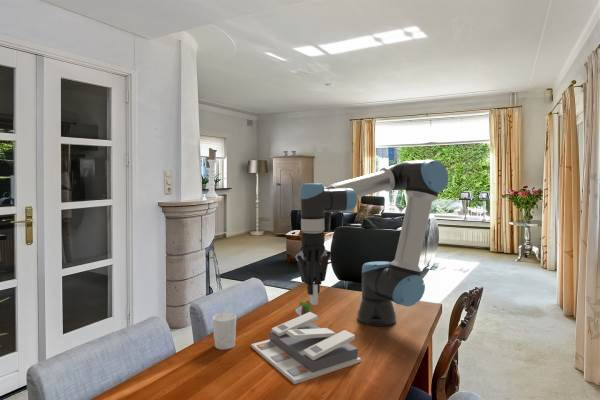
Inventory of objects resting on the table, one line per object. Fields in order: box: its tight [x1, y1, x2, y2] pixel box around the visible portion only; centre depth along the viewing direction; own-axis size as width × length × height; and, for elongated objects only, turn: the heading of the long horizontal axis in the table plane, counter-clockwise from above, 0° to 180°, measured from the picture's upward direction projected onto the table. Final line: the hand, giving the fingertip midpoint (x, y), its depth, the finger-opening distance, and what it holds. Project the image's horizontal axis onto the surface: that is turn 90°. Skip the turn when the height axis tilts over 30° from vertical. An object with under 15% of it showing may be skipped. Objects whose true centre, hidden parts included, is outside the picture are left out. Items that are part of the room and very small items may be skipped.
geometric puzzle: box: [294, 301, 315, 317], centre depth 157 cm, size 7×7×8 cm
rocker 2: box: [286, 327, 337, 339], centre depth 127 cm, size 16×5×1 cm, turn 123°
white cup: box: [212, 312, 237, 351], centre depth 133 cm, size 8×8×10 cm
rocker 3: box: [303, 329, 356, 360], centre depth 119 cm, size 16×5×1 cm, turn 122°
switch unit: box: [250, 322, 362, 385], centre depth 126 cm, size 24×28×4 cm
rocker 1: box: [271, 311, 319, 337], centre depth 136 cm, size 16×5×1 cm, turn 122°
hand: (313, 303), depth 127 cm, fingers closed
